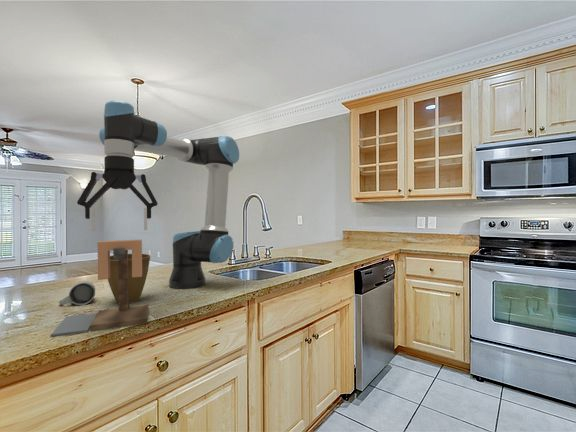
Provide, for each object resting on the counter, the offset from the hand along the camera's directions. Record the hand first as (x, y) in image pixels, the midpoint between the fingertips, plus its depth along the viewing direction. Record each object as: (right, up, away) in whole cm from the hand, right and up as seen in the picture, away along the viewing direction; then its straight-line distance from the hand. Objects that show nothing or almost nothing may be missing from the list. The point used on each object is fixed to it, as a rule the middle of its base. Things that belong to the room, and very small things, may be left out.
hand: (119, 230), depth 90 cm
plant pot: (-9, -27, +22) cm, 35 cm away
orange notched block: (0, -14, 0) cm, 14 cm away
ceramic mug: (-25, -27, +19) cm, 41 cm away
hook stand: (-1, -27, +2) cm, 27 cm away
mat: (-11, -27, -2) cm, 29 cm away
